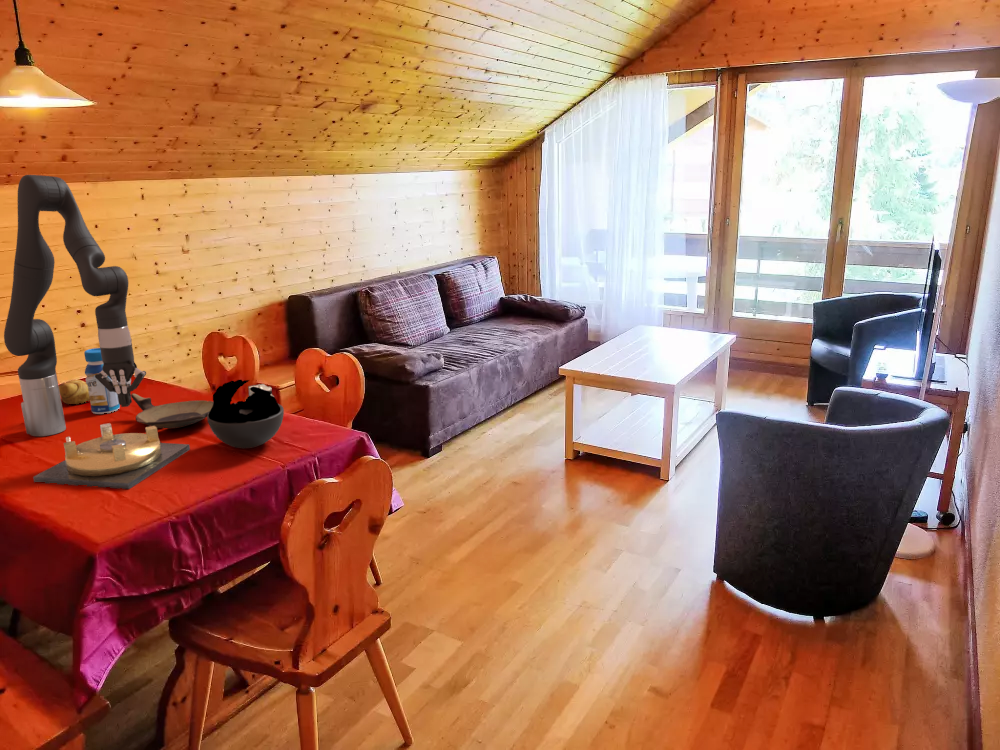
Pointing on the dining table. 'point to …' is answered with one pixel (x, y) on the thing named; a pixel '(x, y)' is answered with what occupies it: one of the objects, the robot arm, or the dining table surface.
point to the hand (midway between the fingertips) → (126, 405)
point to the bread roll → (74, 392)
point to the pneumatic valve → (261, 388)
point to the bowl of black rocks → (244, 416)
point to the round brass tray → (112, 452)
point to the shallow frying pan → (171, 412)
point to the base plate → (118, 480)
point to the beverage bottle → (98, 385)
